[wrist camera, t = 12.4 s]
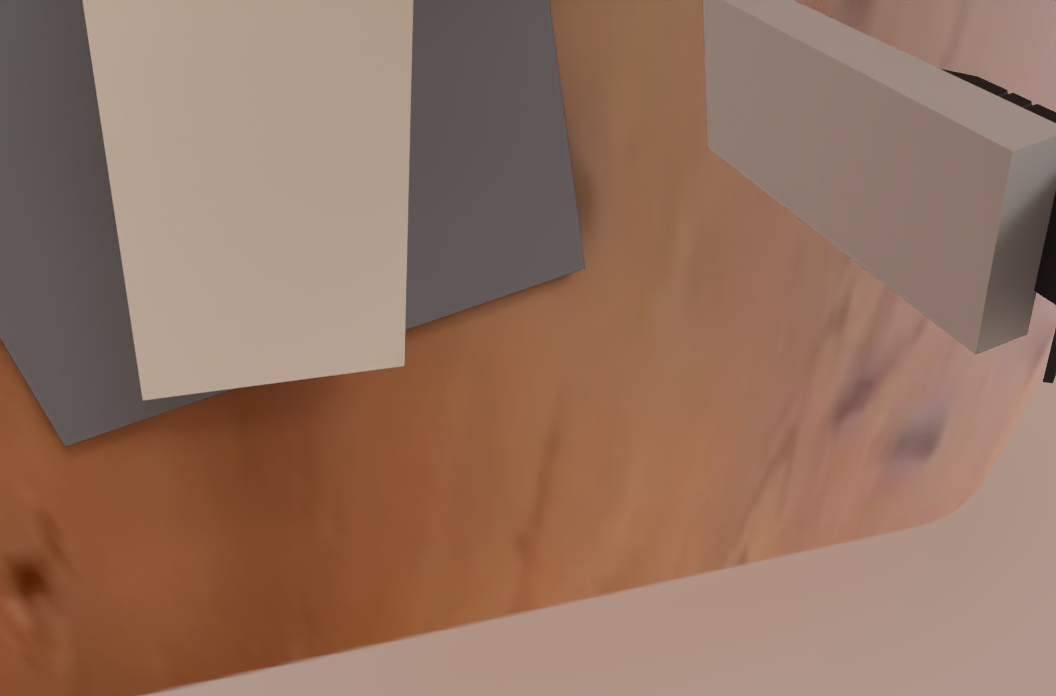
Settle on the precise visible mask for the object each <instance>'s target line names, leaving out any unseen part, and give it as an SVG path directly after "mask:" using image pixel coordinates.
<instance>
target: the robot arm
mask: <svg viewBox="0 0 1056 696" xmlns="http://www.w3.org/2000/svg"><path fill="white" fill-rule="evenodd" d="M703 17H704V48H705V79H706V110H707V141H708V149H709V150H711V151H712V152H713V153H715V154H716V155H717V156H719V157H720V158H721V159H722V160H724V161H725V162H726V163H728V164H729V165H730V166H732V167H733V168H734V169H735V170H737V171H738V172H739V173H741V174H742V175H743V176H745V177H746V178H747V179H748V180H750V181H751V182H752V183H754V184H755V185H756V186H758V187H759V188H760V189H761V190H763V191H764V192H765V193H767V194H768V195H769V196H770V197H772V198H773V199H774V200H776V201H777V202H778V203H780V204H781V205H782V206H783V207H785V208H786V209H787V210H789V211H790V212H791V213H793V214H794V215H795V216H796V217H798V218H799V219H800V220H802V221H803V222H804V223H806V224H807V225H808V226H809V227H811V228H812V229H813V230H815V231H816V232H817V233H819V234H820V235H821V236H822V237H824V238H825V239H826V240H828V241H829V242H830V243H832V244H833V245H834V246H835V247H837V248H838V249H839V250H841V251H842V252H843V253H845V254H846V255H847V256H848V257H850V258H851V259H852V260H854V261H855V262H856V263H857V264H859V265H860V266H861V267H863V268H864V269H865V270H867V271H868V272H869V273H870V274H872V275H873V276H874V277H876V278H877V279H878V280H880V281H881V282H882V283H883V284H885V285H886V286H887V287H889V288H890V289H891V290H893V291H894V292H895V293H896V294H898V295H899V296H900V297H902V298H903V299H904V300H906V301H907V302H908V303H909V304H911V305H912V306H913V307H915V308H916V309H917V310H919V311H920V312H921V313H922V314H924V315H925V316H926V317H928V318H929V319H930V320H932V321H933V322H934V323H935V324H937V325H938V326H939V327H941V328H942V329H943V330H944V331H946V332H947V333H948V334H950V335H951V336H952V337H954V338H955V339H956V340H957V341H959V342H960V343H961V344H963V345H964V346H965V347H967V348H968V349H969V350H970V351H972V352H973V353H974V354H978V353H981V352H983V351H986V350H988V349H991V348H994V347H996V346H999V345H1001V344H1004V343H1006V342H1009V341H1011V340H1014V339H1017V338H1019V337H1022V336H1024V335H1027V333H1028V328H1029V324H1030V319H1031V315H1032V310H1033V305H1034V301H1035V296H1036V292H1037V293H1039V294H1040V295H1042V296H1043V297H1045V298H1046V299H1048V300H1049V301H1051V302H1052V303H1054V304H1055V305H1056V112H1054V111H1051V110H1049V109H1047V108H1045V107H1043V106H1041V105H1038V104H1036V105H1032V104H1031V101H1030V100H1027V99H1025V98H1023V97H1021V96H1019V95H1017V94H1014V93H1011V94H1008V93H1007V90H1006V89H1003V88H1001V87H999V86H997V85H995V84H993V83H990V82H988V81H986V80H984V79H982V78H979V77H977V76H972V75H967V74H962V73H958V72H953V71H948V70H943V69H939V68H937V67H935V66H933V65H930V64H928V63H926V62H924V61H922V60H920V59H918V58H916V57H913V56H911V55H909V54H907V53H905V52H903V51H901V50H898V49H896V48H894V47H892V46H890V45H888V44H886V43H884V42H881V41H879V40H877V39H875V38H873V37H871V36H869V35H867V34H864V33H862V32H860V31H858V30H856V29H854V28H852V27H850V26H847V25H845V24H843V23H841V22H839V21H837V20H835V19H832V18H830V17H828V16H826V15H824V14H822V13H820V12H818V11H815V10H813V9H811V8H809V7H807V6H805V5H803V4H801V3H798V2H796V1H794V0H703ZM1055 375H1056V329H1055V334H1054V338H1053V342H1052V346H1051V350H1050V354H1049V358H1048V363H1047V367H1046V371H1045V375H1044V379H1043V382H1048V383H1053V381H1054V378H1055Z"/></svg>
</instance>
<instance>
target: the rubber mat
mask: <svg viewBox="0 0 1056 696" xmlns="http://www.w3.org/2000/svg"><path fill="white" fill-rule="evenodd" d="M582 269H585V263H584V255H583V248H582V240H581V233H580V226H579V218H578V211H577V203H576V196H575V188H574V181H573V173H572V166H571V158H570V151H569V144H568V136H567V129H566V121H565V114H564V106H563V99H562V91H561V84H560V76H559V69H558V61H557V54H556V47H555V39H554V32H553V24H552V17H551V9H550V2H549V0H413V34H412V75H411V116H410V157H409V197H408V238H407V279H406V319H405V330H407V329H410V328H413V327H416V326H419V325H422V324H425V323H428V322H431V321H433V320H436V319H439V318H442V317H445V316H448V315H451V314H454V313H457V312H460V311H463V310H466V309H468V308H471V307H474V306H477V305H480V304H483V303H486V302H489V301H492V300H495V299H498V298H501V297H503V296H506V295H509V294H512V293H515V292H518V291H521V290H524V289H527V288H530V287H533V286H536V285H538V284H541V283H544V282H547V281H550V280H553V279H556V278H559V277H562V276H565V275H568V274H571V273H573V272H576V271H579V270H582ZM0 339H1V341H2V342H3V344H4V346H5V347H6V349H7V351H8V352H9V354H10V356H11V357H12V359H13V361H14V362H15V364H16V366H17V367H18V369H19V371H20V372H21V374H22V376H23V377H24V379H25V381H26V382H27V384H28V386H29V387H30V389H31V391H32V392H33V394H34V396H35V397H36V399H37V401H38V402H39V404H40V406H41V407H42V409H43V411H44V412H45V414H46V416H47V417H48V419H49V421H50V422H51V424H52V426H53V427H54V429H55V431H56V432H57V434H58V436H59V437H60V439H61V441H62V442H63V444H64V446H65V447H66V446H69V445H72V444H75V443H78V442H81V441H83V440H86V439H89V438H92V437H95V436H98V435H101V434H104V433H107V432H110V431H113V430H116V429H118V428H121V427H124V426H127V425H130V424H133V423H136V422H139V421H142V420H145V419H148V418H151V417H153V416H156V415H159V414H162V413H165V412H168V411H171V410H174V409H177V408H180V407H183V406H186V405H188V404H191V403H194V402H197V401H200V400H203V399H206V398H209V397H212V396H215V395H218V394H221V393H223V392H226V391H229V390H232V389H226V390H219V391H211V392H204V393H196V394H188V395H181V396H173V397H166V398H158V399H150V400H143V399H142V392H141V386H140V379H139V373H138V366H137V359H136V353H135V346H134V339H133V333H132V326H131V319H130V313H129V306H128V300H127V293H126V286H125V280H124V273H123V266H122V260H121V253H120V246H119V240H118V233H117V226H116V220H115V213H114V207H113V200H112V193H111V187H110V180H109V173H108V167H107V160H106V153H105V147H104V140H103V134H102V127H101V120H100V114H99V107H98V100H97V94H96V87H95V80H94V74H93V67H92V60H91V54H90V47H89V41H88V34H87V27H86V21H85V14H84V7H83V1H82V0H0ZM234 389H235V388H234Z"/></svg>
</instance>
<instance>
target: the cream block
mask: <svg viewBox="0 0 1056 696" xmlns="http://www.w3.org/2000/svg"><path fill="white" fill-rule="evenodd" d="M82 1H83V7H84V14H85V21H86V27H87V34H88V41H89V47H90V54H91V60H92V67H93V74H94V80H95V87H96V94H97V100H98V107H99V114H100V120H101V127H102V134H103V140H104V147H105V153H106V160H107V167H108V173H109V180H110V187H111V193H112V200H113V207H114V213H115V220H116V226H117V233H118V240H119V246H120V253H121V260H122V266H123V273H124V280H125V286H126V293H127V300H128V306H129V313H130V319H131V326H132V333H133V339H134V346H135V353H136V359H137V366H138V373H139V379H140V386H141V392H142V399H143V400H150V399H158V398H166V397H173V396H181V395H188V394H196V393H204V392H211V391H219V390H226V389H234V388H242V387H249V386H257V385H264V384H272V383H279V382H287V381H295V380H302V379H310V378H317V377H325V376H333V375H340V374H348V373H355V372H363V371H371V370H378V369H386V368H393V367H401V366H404V360H405V319H406V279H407V238H408V197H409V157H410V116H411V75H412V34H413V0H82Z"/></svg>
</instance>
